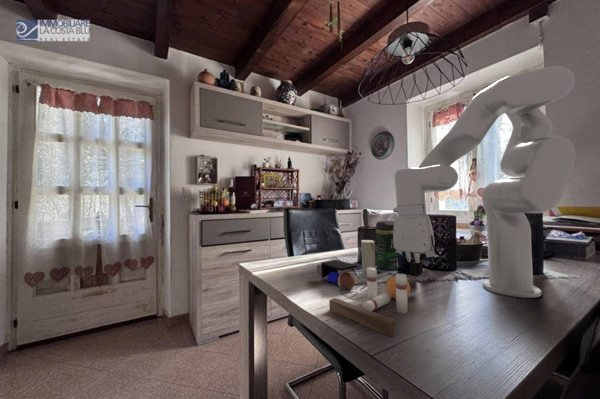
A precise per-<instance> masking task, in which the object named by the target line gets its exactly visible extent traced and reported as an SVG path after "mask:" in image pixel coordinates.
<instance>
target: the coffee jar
mask: <svg viewBox="0 0 600 399" xmlns="http://www.w3.org/2000/svg"><path fill="white" fill-rule="evenodd" d="M393 229H394V220H381V221H377V222H376V223H375V233H376V237H377V238H376V239H377V240H376V241H377V242H376V245H377V246H376V256H375V267H377V268H378V269H379V270H385V271H395V270H398V269H397V268H398V267H397V252H396V249H395V248H394V242H393Z"/></svg>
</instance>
